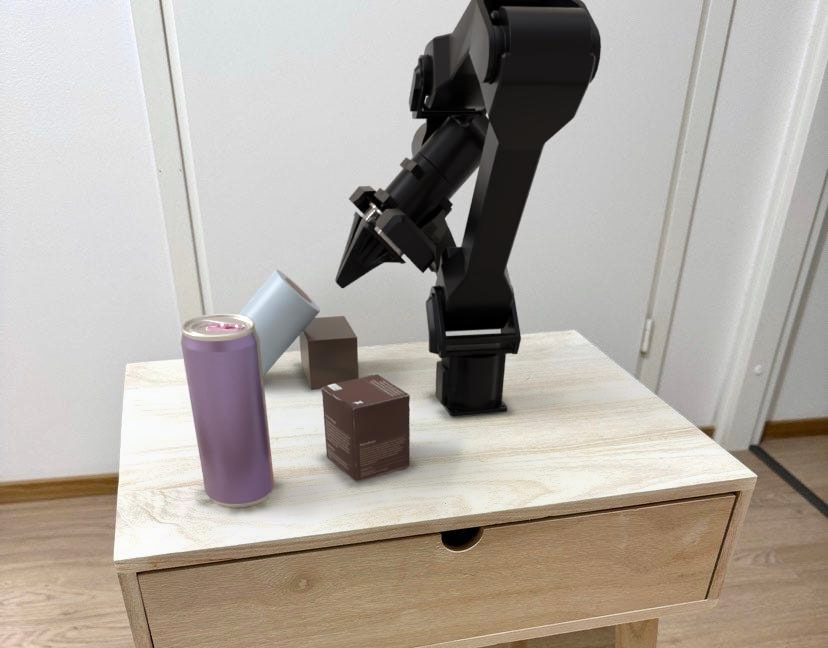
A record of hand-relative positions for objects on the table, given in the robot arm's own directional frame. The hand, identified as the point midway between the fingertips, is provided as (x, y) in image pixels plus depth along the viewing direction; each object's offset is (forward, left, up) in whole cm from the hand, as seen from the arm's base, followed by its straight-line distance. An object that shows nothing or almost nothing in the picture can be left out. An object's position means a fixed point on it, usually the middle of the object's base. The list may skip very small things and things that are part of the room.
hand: (338, 285), depth 84 cm
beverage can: (+14, +26, -11) cm, 31 cm away
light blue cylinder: (+8, 0, -10) cm, 13 cm away
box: (+2, +23, -11) cm, 25 cm away
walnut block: (+2, 0, -10) cm, 11 cm away
